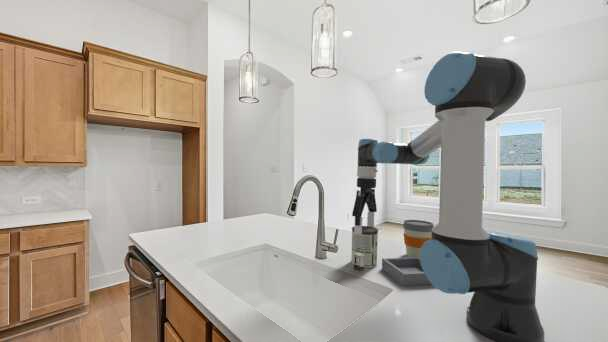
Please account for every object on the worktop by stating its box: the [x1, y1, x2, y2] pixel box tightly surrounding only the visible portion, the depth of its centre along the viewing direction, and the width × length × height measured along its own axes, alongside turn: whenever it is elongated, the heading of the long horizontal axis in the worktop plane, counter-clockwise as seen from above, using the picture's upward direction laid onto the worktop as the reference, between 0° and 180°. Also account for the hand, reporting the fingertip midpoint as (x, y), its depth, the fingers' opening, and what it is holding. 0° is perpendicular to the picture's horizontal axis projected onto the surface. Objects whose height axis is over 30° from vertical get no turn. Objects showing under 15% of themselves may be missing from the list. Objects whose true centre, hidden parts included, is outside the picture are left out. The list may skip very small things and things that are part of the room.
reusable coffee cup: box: [402, 219, 435, 258], centre depth 118 cm, size 13×13×15 cm
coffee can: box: [350, 225, 379, 269], centre depth 107 cm, size 10×10×14 cm
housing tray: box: [381, 257, 433, 287], centre depth 96 cm, size 15×15×4 cm
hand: (364, 230), depth 107 cm, fingers open, 13 cm apart
